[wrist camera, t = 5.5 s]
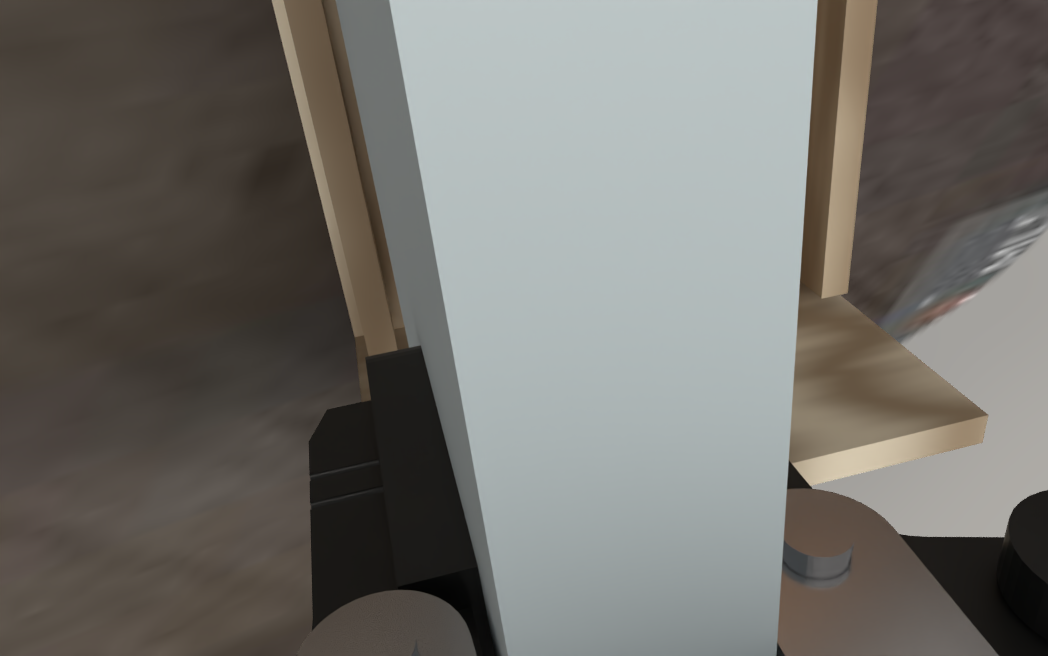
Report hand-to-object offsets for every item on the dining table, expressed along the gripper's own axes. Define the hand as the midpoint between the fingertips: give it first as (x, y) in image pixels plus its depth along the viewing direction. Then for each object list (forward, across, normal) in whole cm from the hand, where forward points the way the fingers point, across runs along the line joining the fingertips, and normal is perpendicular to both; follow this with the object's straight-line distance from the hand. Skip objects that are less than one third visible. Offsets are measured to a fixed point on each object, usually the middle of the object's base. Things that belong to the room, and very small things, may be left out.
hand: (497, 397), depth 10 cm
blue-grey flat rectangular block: (+13, 0, 0) cm, 13 cm away
